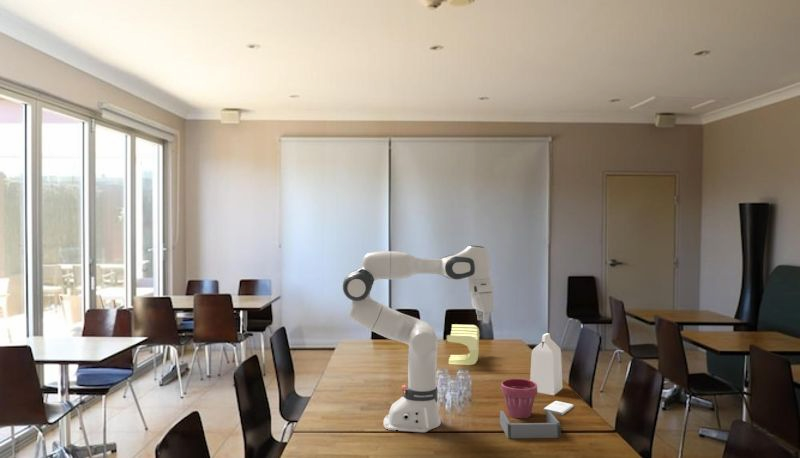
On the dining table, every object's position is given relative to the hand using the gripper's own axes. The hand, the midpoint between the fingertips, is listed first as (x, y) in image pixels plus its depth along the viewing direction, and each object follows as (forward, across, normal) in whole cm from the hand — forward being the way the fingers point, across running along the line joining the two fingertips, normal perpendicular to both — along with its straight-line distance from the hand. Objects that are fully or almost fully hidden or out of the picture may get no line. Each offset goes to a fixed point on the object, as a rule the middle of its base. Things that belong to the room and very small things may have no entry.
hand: (483, 321), depth 206 cm
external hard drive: (+42, -14, +32) cm, 55 cm away
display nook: (+41, +7, +12) cm, 44 cm away
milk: (+40, -38, +36) cm, 66 cm away
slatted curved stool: (+35, -91, +9) cm, 98 cm away
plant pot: (+40, -9, +14) cm, 44 cm away
